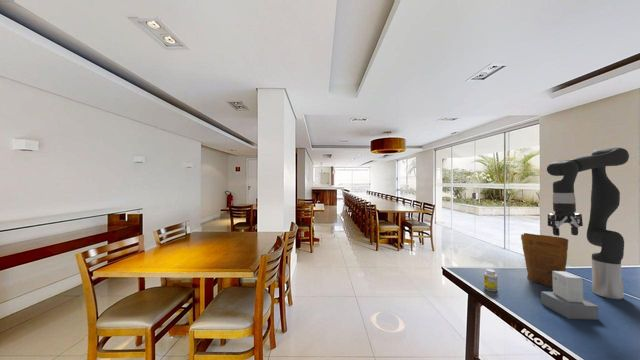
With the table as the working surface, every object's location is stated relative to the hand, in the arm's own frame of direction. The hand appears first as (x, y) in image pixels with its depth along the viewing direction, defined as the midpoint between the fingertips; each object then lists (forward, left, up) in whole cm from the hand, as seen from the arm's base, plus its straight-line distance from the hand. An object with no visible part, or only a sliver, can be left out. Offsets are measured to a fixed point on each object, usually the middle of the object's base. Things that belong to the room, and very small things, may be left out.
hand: (565, 235), depth 109 cm
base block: (+9, +9, -32) cm, 35 cm away
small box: (+9, +9, -26) cm, 29 cm away
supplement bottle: (+29, -10, -32) cm, 44 cm away
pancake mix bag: (-6, -18, -32) cm, 37 cm away
